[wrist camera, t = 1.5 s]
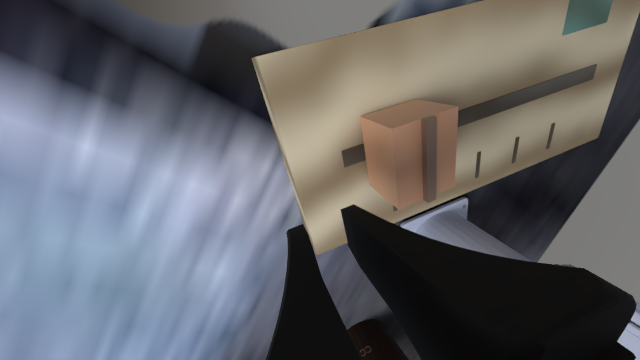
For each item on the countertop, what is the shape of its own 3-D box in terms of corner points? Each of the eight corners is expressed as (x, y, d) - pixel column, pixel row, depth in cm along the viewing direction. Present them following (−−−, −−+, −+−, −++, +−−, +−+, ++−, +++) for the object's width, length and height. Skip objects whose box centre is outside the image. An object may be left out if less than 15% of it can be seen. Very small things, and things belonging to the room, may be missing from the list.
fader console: (562, 130, 27) (599, 137, 25) (306, 232, 22) (317, 256, 19) (603, -29, 21) (659, -44, 18) (251, 58, 15) (256, 56, 12)
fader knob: (417, 167, 18) (459, 189, 15) (369, 185, 18) (402, 213, 14) (415, 98, 16) (464, 107, 13) (359, 116, 15) (396, 130, 12)
